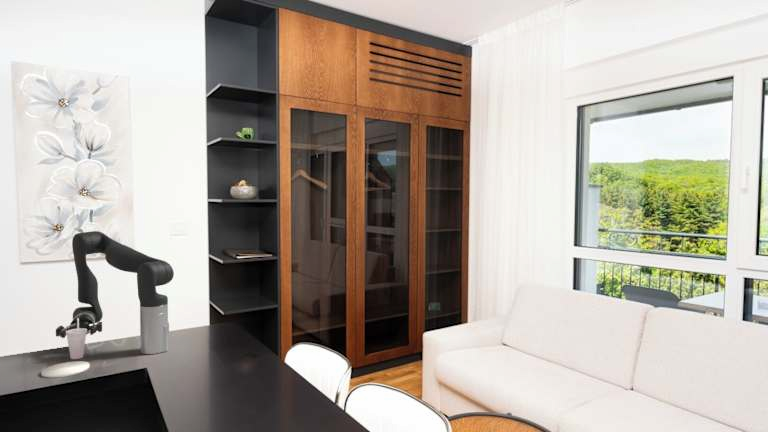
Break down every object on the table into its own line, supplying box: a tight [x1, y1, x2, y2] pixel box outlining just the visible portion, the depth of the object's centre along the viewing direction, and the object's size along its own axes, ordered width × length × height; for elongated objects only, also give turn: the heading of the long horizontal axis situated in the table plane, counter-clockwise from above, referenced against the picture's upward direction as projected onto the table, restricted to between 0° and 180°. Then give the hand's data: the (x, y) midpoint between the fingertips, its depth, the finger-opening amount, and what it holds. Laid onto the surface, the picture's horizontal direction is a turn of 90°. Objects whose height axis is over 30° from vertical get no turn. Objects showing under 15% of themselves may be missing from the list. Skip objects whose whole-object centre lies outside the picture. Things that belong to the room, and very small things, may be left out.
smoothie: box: [66, 318, 87, 360], centre depth 162 cm, size 6×6×14 cm
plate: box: [40, 360, 91, 379], centre depth 149 cm, size 13×13×1 cm
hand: (77, 333), depth 164 cm, fingers open, 8 cm apart
